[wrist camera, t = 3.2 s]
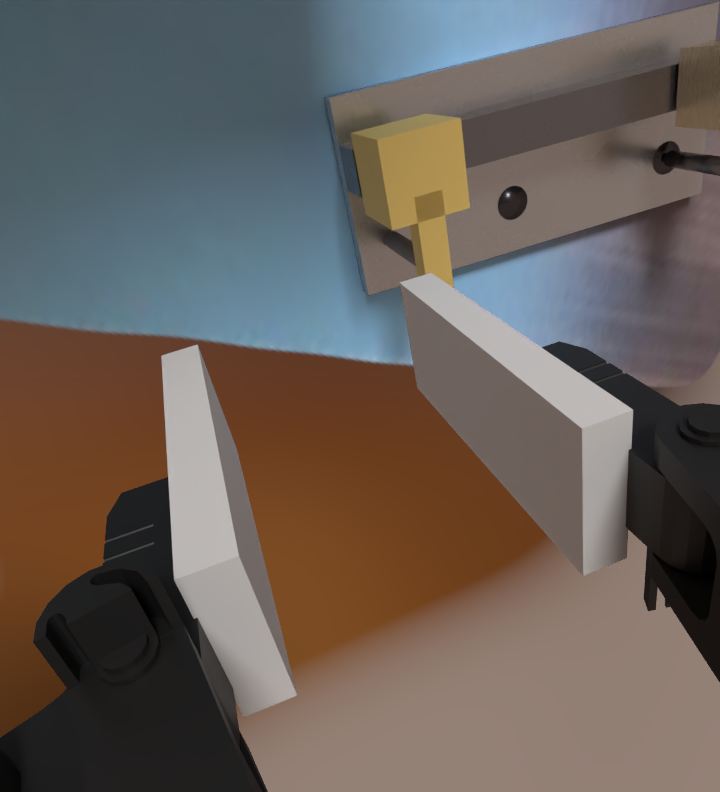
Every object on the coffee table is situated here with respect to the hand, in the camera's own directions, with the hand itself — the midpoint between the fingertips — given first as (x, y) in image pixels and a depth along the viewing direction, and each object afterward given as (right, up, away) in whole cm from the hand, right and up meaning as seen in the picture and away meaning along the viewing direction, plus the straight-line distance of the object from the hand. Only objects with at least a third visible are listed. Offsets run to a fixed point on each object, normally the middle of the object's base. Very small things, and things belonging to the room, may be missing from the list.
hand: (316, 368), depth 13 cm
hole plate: (+11, +14, +23) cm, 30 cm away
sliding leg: (+2, +11, +21) cm, 23 cm away
